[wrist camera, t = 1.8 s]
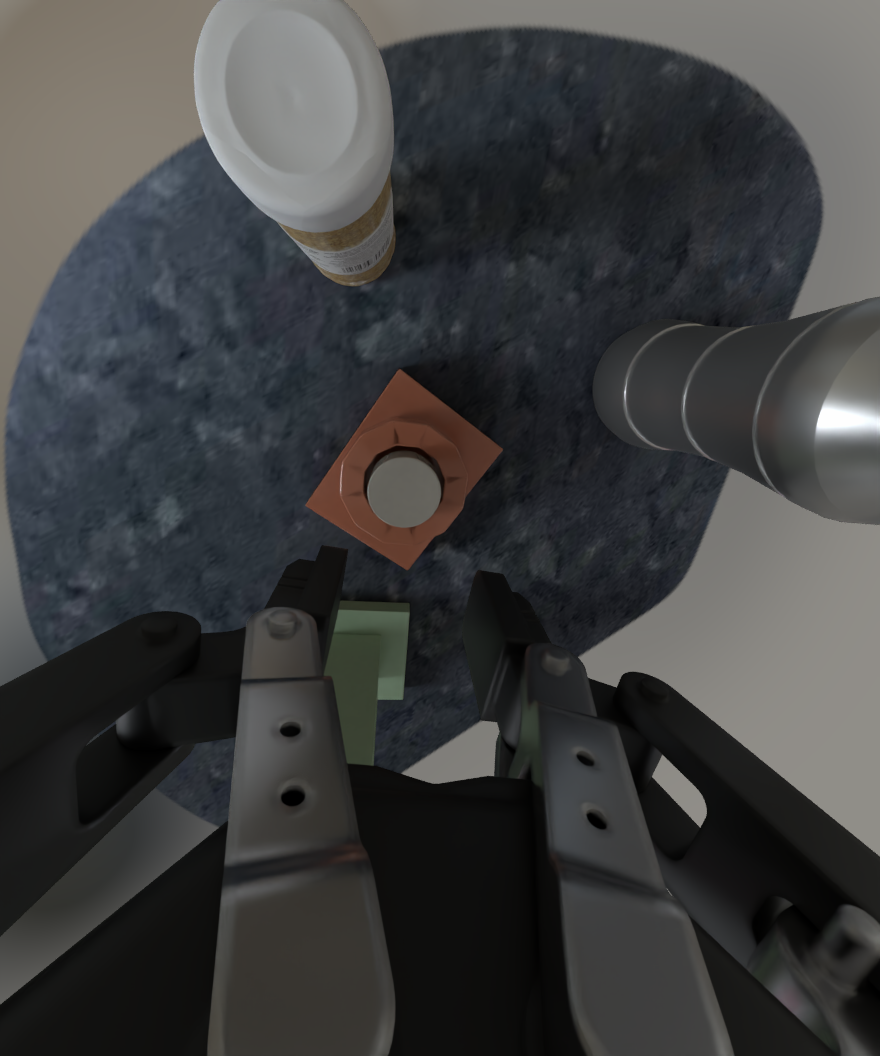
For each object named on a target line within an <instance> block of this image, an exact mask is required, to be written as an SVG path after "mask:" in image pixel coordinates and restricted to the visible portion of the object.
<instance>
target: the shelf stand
mask: <svg viewBox="0 0 880 1056" xmlns="http://www.w3.org/2000/svg"><path fill="white" fill-rule="evenodd" d="M409 615H410V608H409V603H391V602H364V601H340V604H339V610H338V615H337V620H336V624H335V629H334V633H333V637H332V641H331V646H330V650H329V654H328V658H327V663H326V667H325V671H324V676H331V677H332V679H333V683H334V689H335V695H336V701H337V707H338V713H339V719H340V724H341V730H342V736H343V742H344V748H345V754H346V760H347V763H350V764H361V765H372V766H373V764H374V748H375V732H376V716H377V699H379V700H403V693H404V680H405V667H406V654H407V641H408V628H409Z"/></svg>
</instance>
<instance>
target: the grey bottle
mask: <svg viewBox="0 0 880 1056" xmlns="http://www.w3.org/2000/svg"><path fill="white" fill-rule="evenodd" d="M592 389H593V401H594V405H595V409H596V411H597V413H598V415H599V417H600V419H601V421H602V422H603V423H604V424H605V426H606V427H607V428H608V429H609V430H611V431H612V432H613V433H614V434H615V435H616V436H618V437H619V438H620V439H621V440H622V441H624V442H626V443H628V444H630V445H632V446H636V447H640V448H645V449H653V450H675V451H680V452H685V453H690V454H695V455H700V456H704V457H706V458H708V459H711V460H713V461H717V462H718V463H720V464H722V465H725V466H727V467H730V468H732V469H734V470H737V471H739V472H742V473H744V474H745V475H747V476H749V477H750V478H752V479H754V480H756V481H757V482H759V483H761V484H762V485H764V486H766V487H768V488H769V489H771V490H773V491H774V492H776V493H778V494H780V495H781V496H783V497H785V498H786V499H788V500H790V501H791V502H793V503H795V504H797V505H799V506H801V507H803V508H805V509H807V510H809V511H812V512H814V513H816V514H818V515H820V516H822V517H824V518H828V519H832V520H836V521H840V522H848V523H862V524H875V525H880V297H875V298H870V299H865V300H863V301H860V302H855V303H851V304H847V305H843V306H840V307H836V308H832V309H828V310H825V311H821V312H817V313H813V314H810V315H806V316H802V317H798V318H795V319H791V320H787V321H781V322H775V323H768V324H761V325H754V326H747V327H740V328H735V327H716V326H704V325H701V324H698V323H694V322H690V321H682V320H672V319H661V320H654V321H651V322H648V323H645V324H643V325H640V326H638V327H636V328H634V329H632V330H630V331H628V332H626V333H625V334H623V335H621V336H620V337H619V338H617V339H616V340H615V341H614V342H613V343H612V344H611V345H610V346H609V347H608V349H607V350H606V351H605V353H604V354H603V355H602V357H601V359H600V361H599V363H598V365H597V368H596V371H595V375H594V380H593V387H592Z"/></svg>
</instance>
